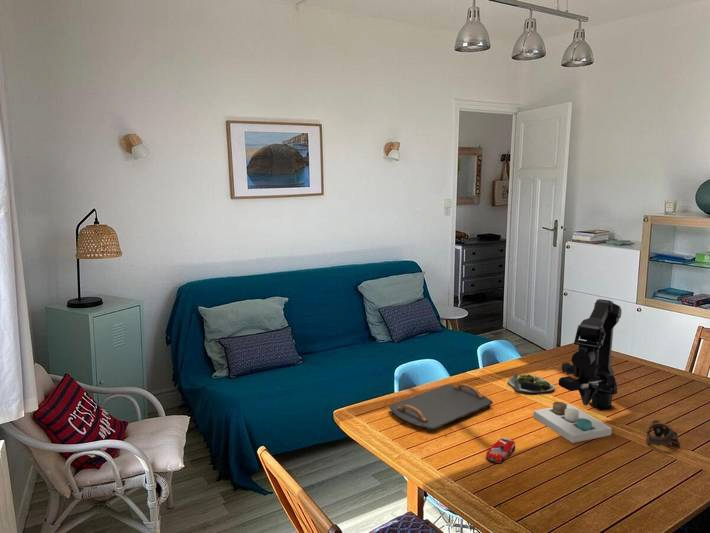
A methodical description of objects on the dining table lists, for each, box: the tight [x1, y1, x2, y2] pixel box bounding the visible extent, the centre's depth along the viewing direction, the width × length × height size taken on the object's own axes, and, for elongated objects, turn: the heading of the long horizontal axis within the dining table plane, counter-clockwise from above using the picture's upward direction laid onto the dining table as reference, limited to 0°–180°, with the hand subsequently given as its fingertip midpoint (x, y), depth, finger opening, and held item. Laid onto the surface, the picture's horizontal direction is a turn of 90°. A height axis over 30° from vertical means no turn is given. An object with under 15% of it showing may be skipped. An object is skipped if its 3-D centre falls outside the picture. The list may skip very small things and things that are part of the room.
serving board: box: [389, 383, 493, 434], centre depth 198 cm, size 39×23×6 cm, turn 129°
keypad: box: [532, 403, 613, 444], centre depth 185 cm, size 16×20×2 cm
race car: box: [485, 437, 516, 464], centre depth 166 cm, size 13×5×4 cm, turn 139°
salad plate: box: [507, 373, 556, 396], centre depth 221 cm, size 19×18×5 cm
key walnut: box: [552, 401, 568, 416], centre depth 190 cm, size 5×5×3 cm
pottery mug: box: [645, 419, 681, 448], centre depth 173 cm, size 12×10×8 cm
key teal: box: [576, 418, 592, 431], centre depth 179 cm, size 5×5×3 cm
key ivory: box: [564, 408, 579, 423], centre depth 185 cm, size 5×5×3 cm
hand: (585, 405), depth 178 cm, fingers closed
